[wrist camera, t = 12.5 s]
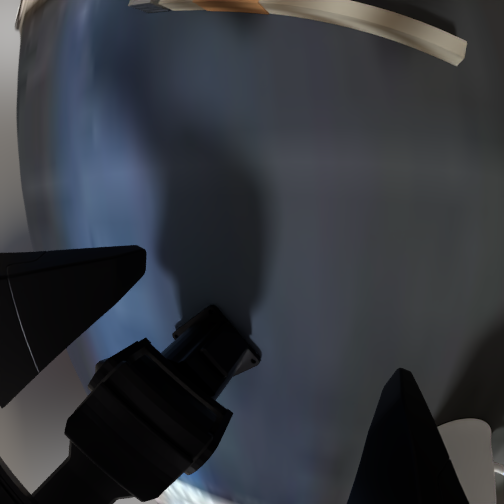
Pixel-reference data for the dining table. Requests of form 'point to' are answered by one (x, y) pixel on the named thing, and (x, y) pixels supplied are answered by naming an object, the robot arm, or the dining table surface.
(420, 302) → the dining table surface
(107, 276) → the robot arm
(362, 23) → the beige u-shaped frame
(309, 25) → the dining table surface
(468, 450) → the mug
